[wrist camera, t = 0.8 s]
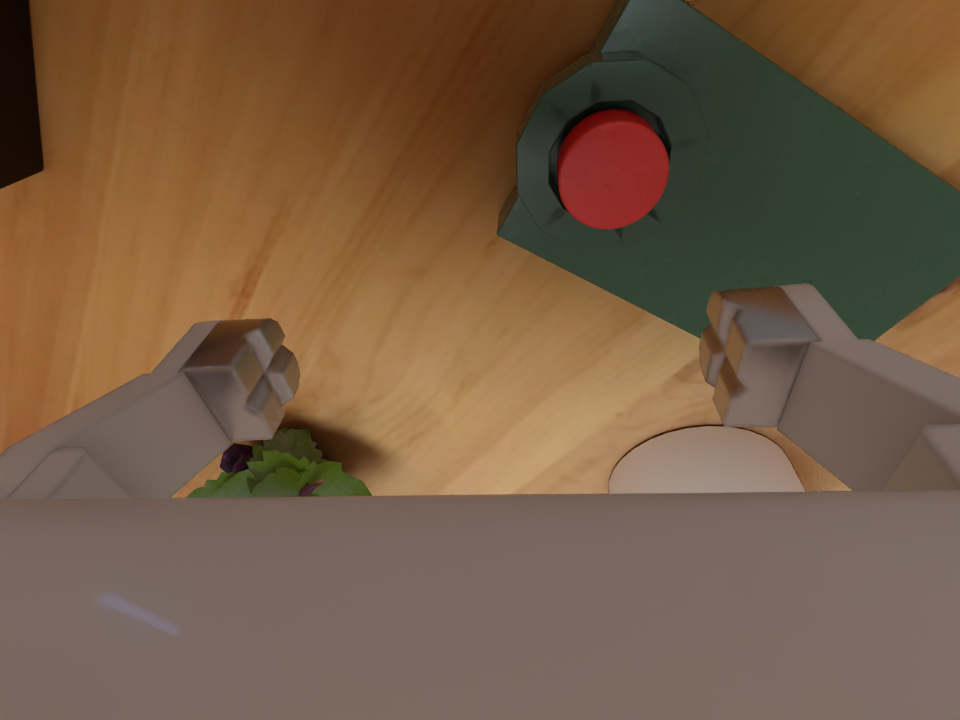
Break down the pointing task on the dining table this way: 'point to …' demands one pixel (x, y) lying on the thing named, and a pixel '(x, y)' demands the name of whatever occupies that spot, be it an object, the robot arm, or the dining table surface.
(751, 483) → the white cylinder
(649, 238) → the button housing
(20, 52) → the knob panel
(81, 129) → the dining table surface
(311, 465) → the fruit
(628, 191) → the button
